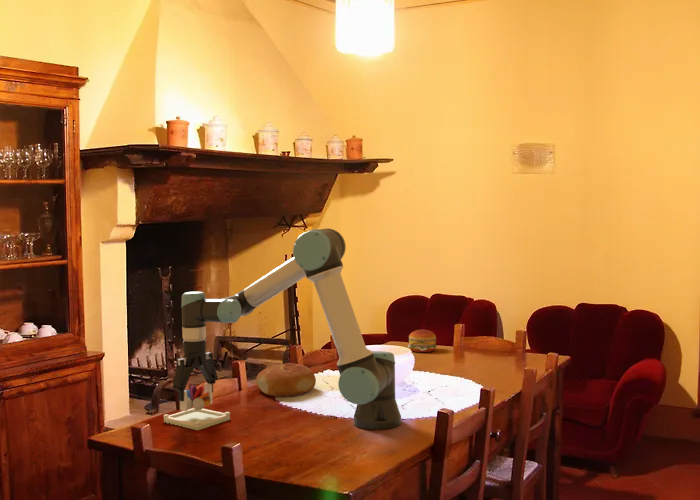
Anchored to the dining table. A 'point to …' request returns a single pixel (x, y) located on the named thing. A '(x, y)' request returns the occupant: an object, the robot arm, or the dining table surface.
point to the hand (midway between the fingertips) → (196, 406)
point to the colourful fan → (197, 398)
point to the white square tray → (197, 418)
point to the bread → (286, 380)
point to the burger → (422, 341)
